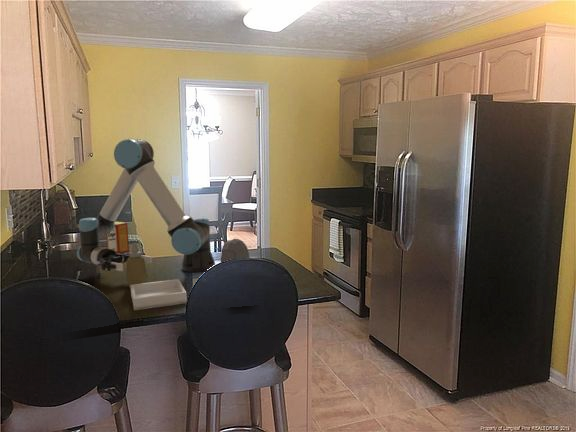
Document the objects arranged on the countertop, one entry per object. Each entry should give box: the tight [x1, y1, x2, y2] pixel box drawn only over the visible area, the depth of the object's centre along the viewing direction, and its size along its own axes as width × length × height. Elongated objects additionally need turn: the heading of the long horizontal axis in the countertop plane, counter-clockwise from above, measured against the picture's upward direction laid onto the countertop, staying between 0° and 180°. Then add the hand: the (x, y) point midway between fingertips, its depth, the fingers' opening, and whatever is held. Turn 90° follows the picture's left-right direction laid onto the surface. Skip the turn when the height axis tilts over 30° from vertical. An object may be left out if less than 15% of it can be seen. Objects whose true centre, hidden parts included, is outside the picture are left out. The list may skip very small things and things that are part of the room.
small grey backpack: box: [220, 238, 250, 263], centre depth 178 cm, size 15×8×20 cm, turn 157°
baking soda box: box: [105, 221, 130, 254], centre depth 246 cm, size 10×6×16 cm
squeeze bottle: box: [125, 242, 148, 289], centre depth 182 cm, size 8×8×18 cm
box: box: [129, 278, 188, 311], centre depth 169 cm, size 18×18×4 cm
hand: (137, 263), depth 181 cm, fingers open, 13 cm apart
